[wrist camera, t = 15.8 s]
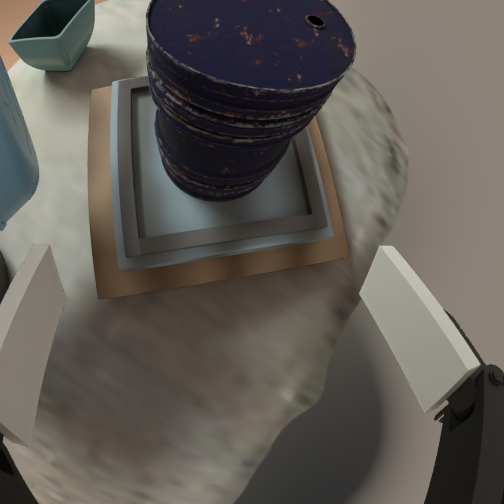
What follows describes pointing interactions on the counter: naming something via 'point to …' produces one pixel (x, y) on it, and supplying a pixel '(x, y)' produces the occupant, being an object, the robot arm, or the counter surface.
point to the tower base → (196, 270)
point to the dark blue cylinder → (239, 85)
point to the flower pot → (55, 34)
